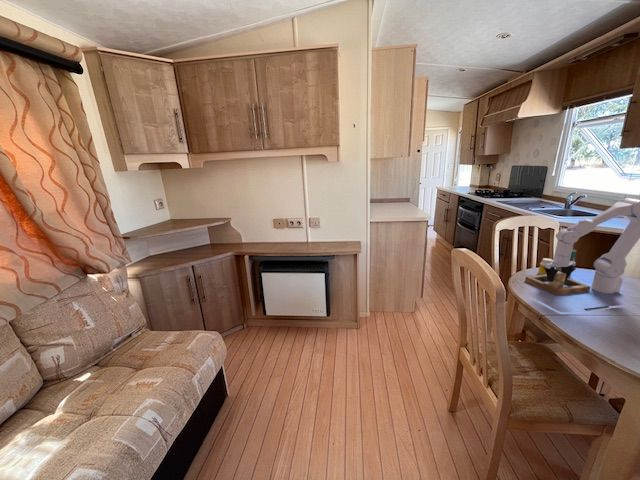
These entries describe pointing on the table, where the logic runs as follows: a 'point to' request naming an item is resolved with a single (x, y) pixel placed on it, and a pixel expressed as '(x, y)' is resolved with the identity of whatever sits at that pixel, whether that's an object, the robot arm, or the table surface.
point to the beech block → (558, 280)
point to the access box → (575, 288)
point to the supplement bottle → (542, 264)
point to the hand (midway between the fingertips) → (556, 280)
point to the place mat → (597, 308)
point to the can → (570, 259)
